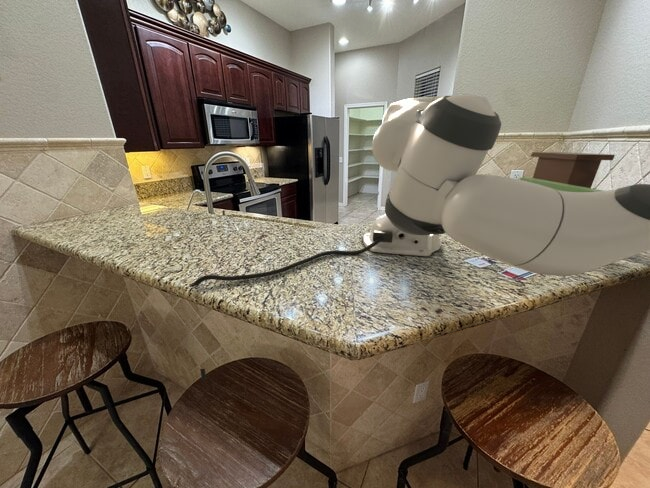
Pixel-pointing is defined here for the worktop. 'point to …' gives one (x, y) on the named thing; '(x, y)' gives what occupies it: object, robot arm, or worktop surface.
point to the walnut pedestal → (568, 167)
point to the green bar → (559, 185)
